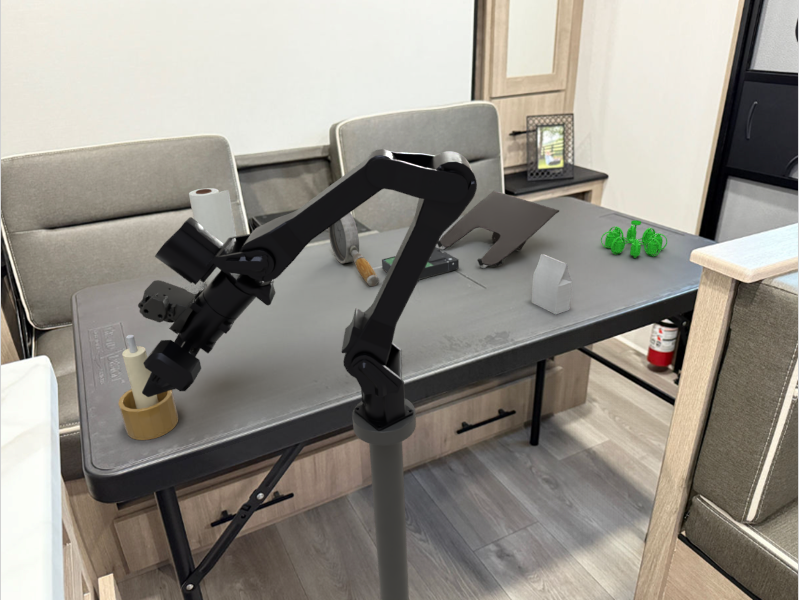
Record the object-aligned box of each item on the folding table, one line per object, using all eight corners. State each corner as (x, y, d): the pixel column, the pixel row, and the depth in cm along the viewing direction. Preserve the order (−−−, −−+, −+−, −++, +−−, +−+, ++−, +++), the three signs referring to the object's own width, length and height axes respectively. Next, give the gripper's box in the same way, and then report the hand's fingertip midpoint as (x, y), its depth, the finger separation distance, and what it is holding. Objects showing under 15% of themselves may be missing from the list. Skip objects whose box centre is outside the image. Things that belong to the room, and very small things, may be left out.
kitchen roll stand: (169, 413, 91) (149, 328, 84) (161, 429, 87) (139, 342, 81) (142, 414, 90) (120, 330, 84) (133, 431, 87) (109, 344, 81)
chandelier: (661, 240, 151) (665, 213, 148) (670, 262, 138) (675, 233, 135) (598, 237, 154) (601, 211, 151) (601, 258, 141) (604, 230, 138)
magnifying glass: (382, 256, 127) (340, 197, 144) (368, 258, 126) (327, 199, 143) (378, 303, 135) (338, 242, 152) (365, 306, 134) (327, 244, 151)
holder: (185, 426, 88) (178, 397, 86) (134, 447, 84) (126, 417, 82) (168, 404, 94) (162, 377, 91) (120, 423, 90) (112, 395, 88)
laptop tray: (441, 264, 157) (427, 238, 152) (501, 211, 163) (491, 183, 157) (501, 293, 139) (488, 265, 134) (566, 232, 145) (557, 202, 140)
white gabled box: (555, 314, 116) (559, 266, 112) (531, 302, 122) (534, 256, 117) (569, 309, 118) (573, 262, 114) (545, 297, 123) (548, 251, 119)
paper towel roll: (200, 286, 135) (182, 193, 126) (218, 276, 140) (202, 186, 131) (226, 291, 132) (209, 196, 123) (243, 281, 137) (228, 188, 128)
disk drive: (434, 257, 146) (381, 269, 140) (434, 246, 145) (380, 258, 139) (459, 270, 138) (403, 284, 132) (459, 259, 137) (403, 272, 131)
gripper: (193, 240, 87) (134, 312, 92) (143, 295, 70) (74, 379, 75) (255, 288, 90) (196, 355, 95) (222, 351, 73) (151, 429, 78)
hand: (157, 376), depth 85 cm, fingers open, 9 cm apart
